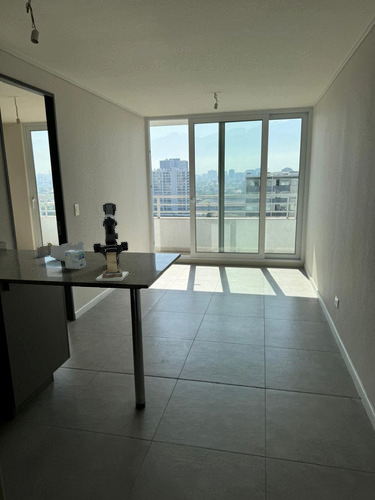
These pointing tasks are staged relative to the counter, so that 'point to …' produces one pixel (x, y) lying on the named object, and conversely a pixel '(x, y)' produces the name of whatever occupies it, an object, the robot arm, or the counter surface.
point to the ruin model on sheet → (44, 250)
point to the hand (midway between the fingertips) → (111, 259)
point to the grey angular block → (59, 251)
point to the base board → (112, 278)
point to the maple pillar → (111, 262)
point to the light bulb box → (75, 259)
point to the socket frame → (112, 274)
